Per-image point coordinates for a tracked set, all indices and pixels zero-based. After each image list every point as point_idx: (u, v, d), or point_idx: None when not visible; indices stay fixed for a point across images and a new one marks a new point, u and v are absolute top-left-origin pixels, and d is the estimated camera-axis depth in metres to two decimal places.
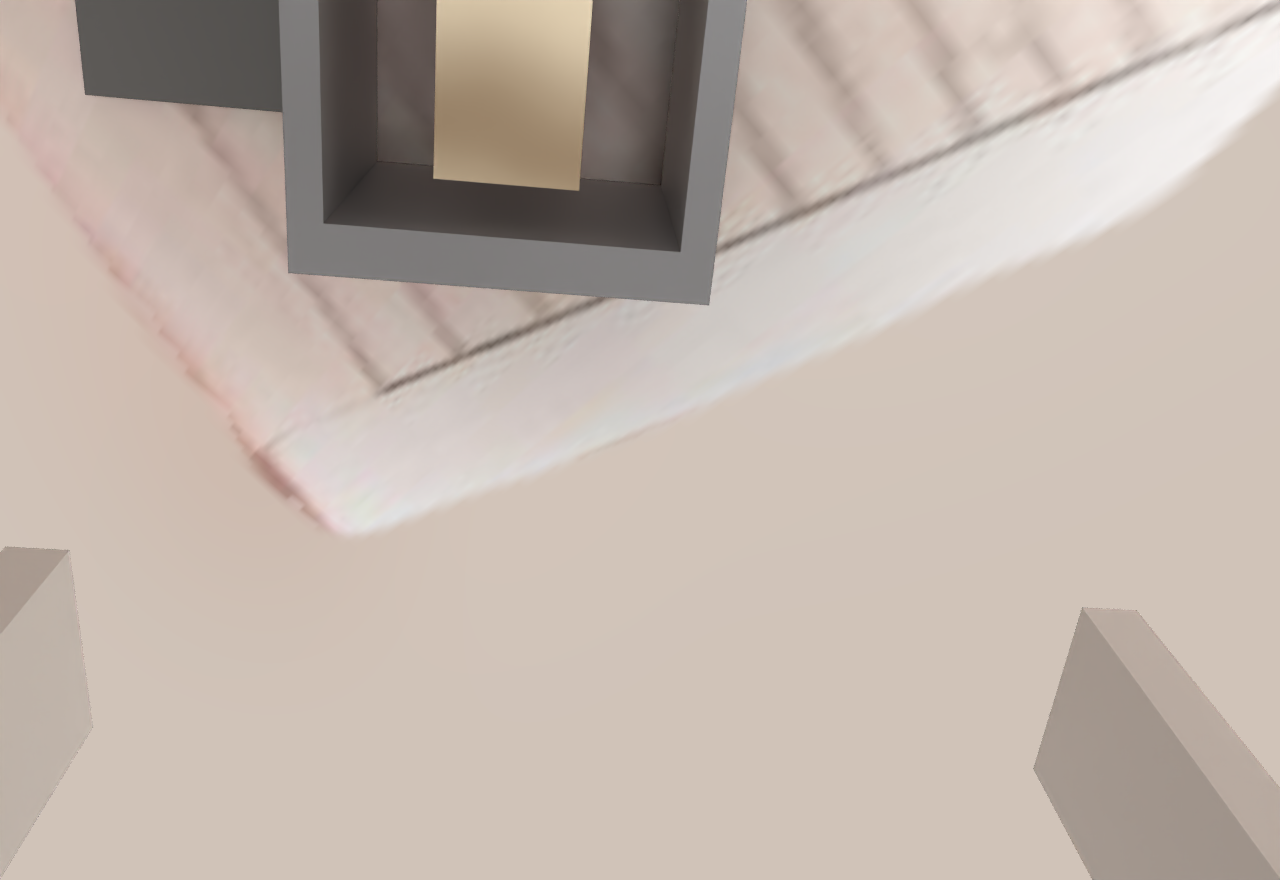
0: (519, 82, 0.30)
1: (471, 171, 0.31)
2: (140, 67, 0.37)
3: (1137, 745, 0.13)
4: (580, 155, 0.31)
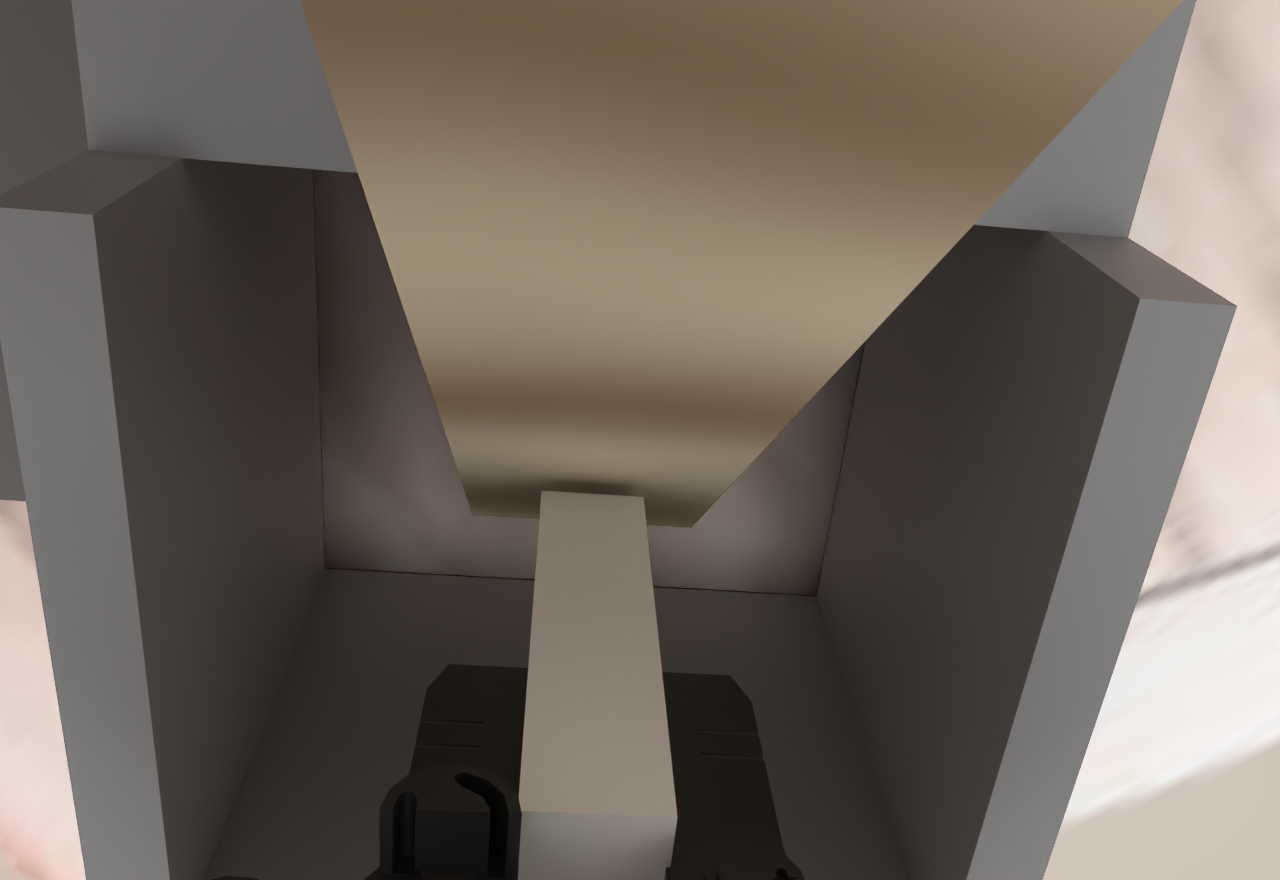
0: None
1: (529, 515, 0.20)
2: None
3: None
4: (697, 519, 0.20)
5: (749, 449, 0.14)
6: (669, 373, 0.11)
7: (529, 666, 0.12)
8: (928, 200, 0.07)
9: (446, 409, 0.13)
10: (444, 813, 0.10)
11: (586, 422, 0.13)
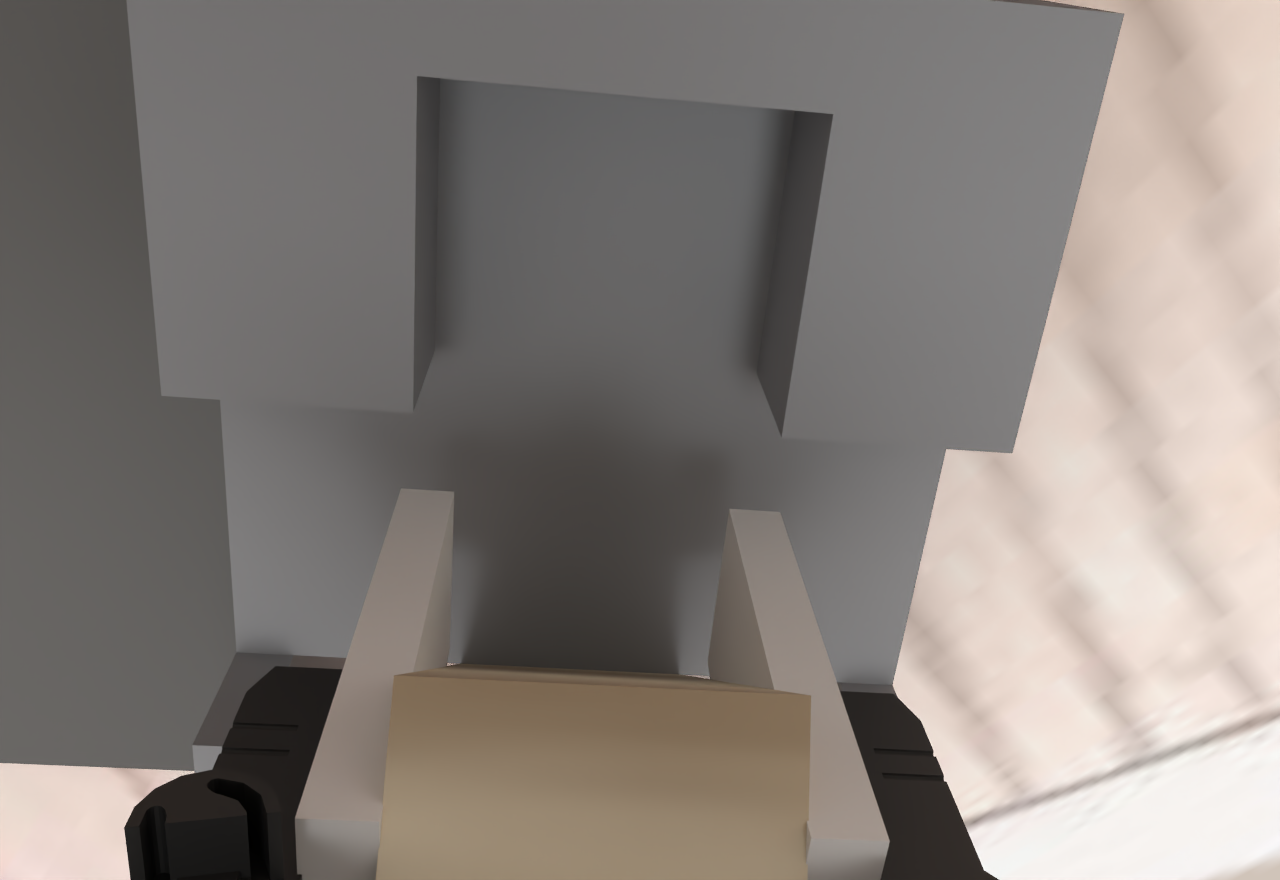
0: None
1: None
2: (44, 731, 0.28)
3: (740, 621, 0.15)
4: None
5: None
6: None
7: (344, 668, 0.12)
8: None
9: None
10: (196, 822, 0.09)
11: None
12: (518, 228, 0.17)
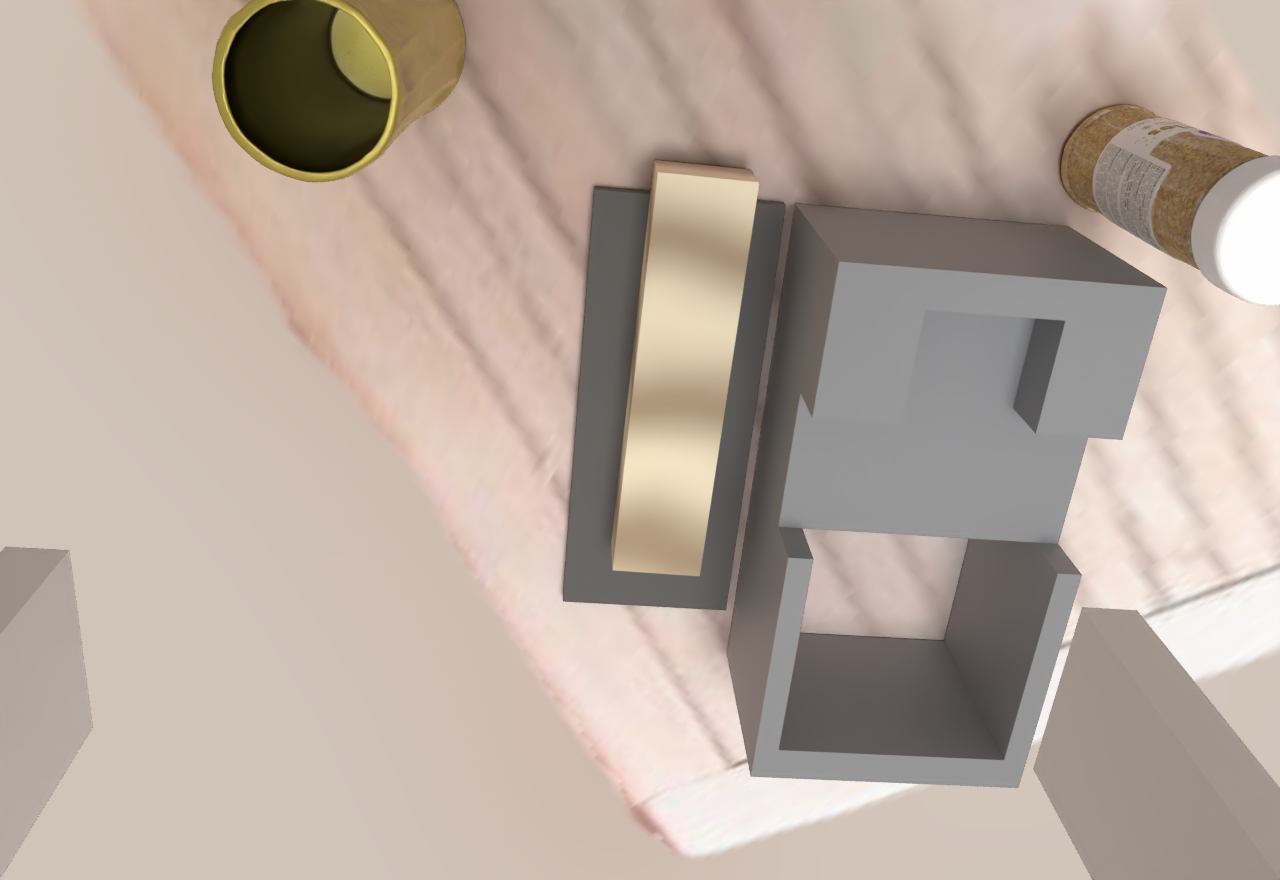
0: (668, 521, 0.50)
1: (635, 566, 0.51)
2: (603, 585, 0.54)
3: (1136, 745, 0.13)
4: (701, 558, 0.51)
5: (715, 443, 0.49)
6: (693, 374, 0.47)
7: None
8: (734, 280, 0.46)
9: (632, 414, 0.48)
10: None
11: (669, 421, 0.48)
12: (926, 351, 0.44)
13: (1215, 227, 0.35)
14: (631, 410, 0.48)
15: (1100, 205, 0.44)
